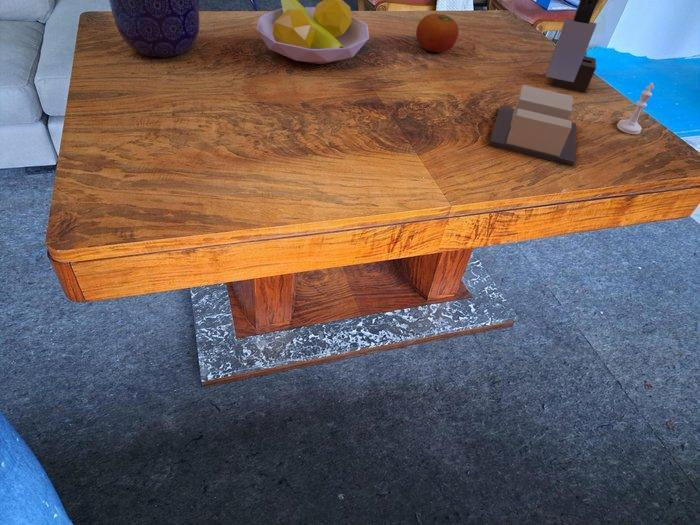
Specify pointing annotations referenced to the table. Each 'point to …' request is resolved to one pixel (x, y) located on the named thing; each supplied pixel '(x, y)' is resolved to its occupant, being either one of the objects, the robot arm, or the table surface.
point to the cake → (544, 102)
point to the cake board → (500, 141)
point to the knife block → (579, 76)
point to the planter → (157, 25)
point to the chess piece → (636, 114)
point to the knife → (571, 46)
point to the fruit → (437, 32)
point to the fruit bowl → (313, 31)
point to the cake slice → (539, 132)
